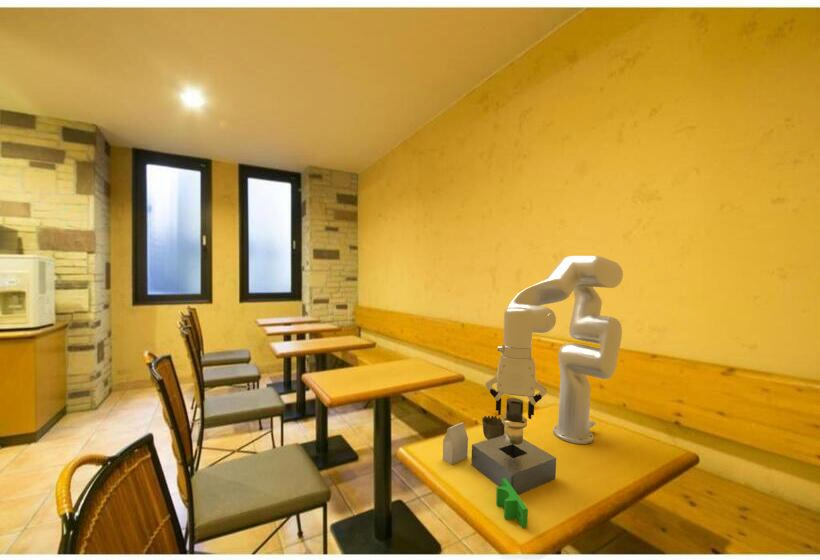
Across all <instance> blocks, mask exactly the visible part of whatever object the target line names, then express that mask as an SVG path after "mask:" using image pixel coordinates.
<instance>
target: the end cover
mask: <svg viewBox="0 0 820 560" xmlns="http://www.w3.org/2000/svg"><path fill="white" fill-rule="evenodd" d="M505 406H506V407H505V408H506V411H505V413H503V414H501V418H500V419H501V422H502V423H503V424H504V425H505V428H504V440H505V441H506V442H507V443H510V444H514V445H519V444H522V443H523V439H524V429H525V428H526V427H527V425H528V419H527V418H526V417H525V416H523V415H524V413H523V412H524V401H523V400H522V399H520V398H516V397H508V398H507V399H506V405H505Z"/></svg>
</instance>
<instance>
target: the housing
mask: <svg viewBox="0 0 820 560" xmlns="http://www.w3.org/2000/svg"><path fill="white" fill-rule="evenodd" d="M470 461H471V463H470V464H471V466H472V467H473V468H474V469H476V470H477V471H478V472H480V473H481V474H482V475H483V476H485V477H486V478H487V479H489V481H491V482H493V483H494V484H495V485H496V486H497V487H501V486H502V479H503V478H506V479H507V480H508V482H509V483H510V485H511V486H512V487H513V489H514V490H515V492H516V493H517V494H518V496H519V495H522V494H525V493H526V492H529V491H532V490H533V489H536V488H538V487H540V486H543V485H545V484H548V483H550V482H553V481H555V480H556V477H557V476H556V475H557V474H556V472H557V471H556V470H557V457H555V456H554V455H552V454H551V453H549V452H547V451H546V450H544V449H542V448H540V447H538V446H537V445H534V444H533V443H531V442H529V441H528V440H526V439H524V438H523V443H522V444H519V445H514V444H510V443H507V442H506V441H505V440H504V435H503V436H499V437H496V438H493V439H489V440H487V439H486V440H483V441H480V442H476V443H473V444H471V460H470Z"/></svg>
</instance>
